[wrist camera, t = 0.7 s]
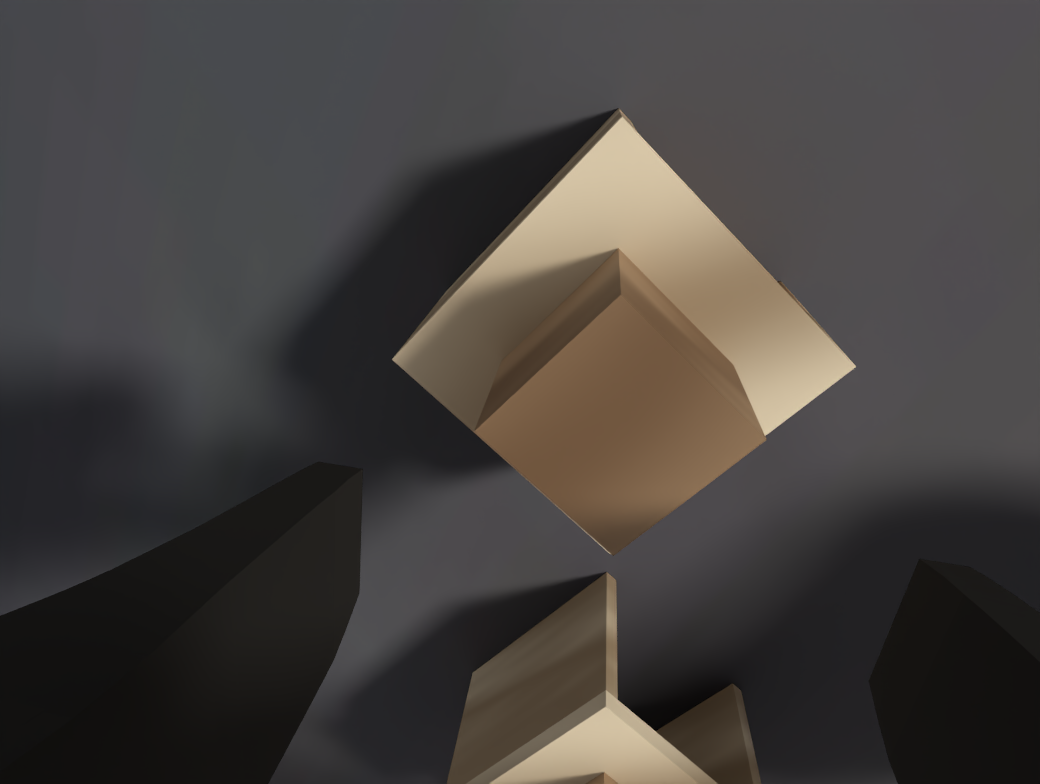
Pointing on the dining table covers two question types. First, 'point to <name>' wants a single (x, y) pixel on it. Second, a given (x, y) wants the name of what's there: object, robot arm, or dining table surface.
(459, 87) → the dining table surface
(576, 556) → the dining table surface
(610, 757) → the cover
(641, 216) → the cover
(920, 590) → the robot arm
